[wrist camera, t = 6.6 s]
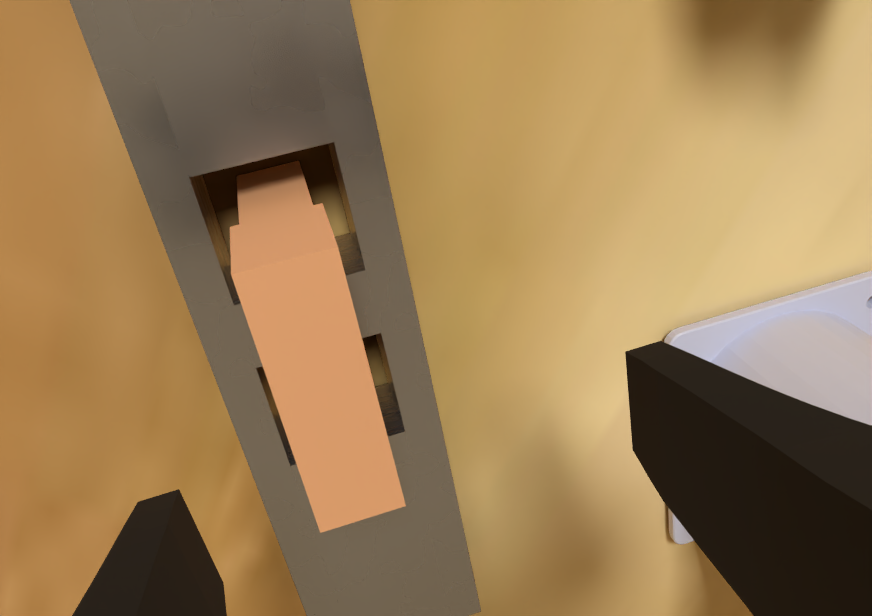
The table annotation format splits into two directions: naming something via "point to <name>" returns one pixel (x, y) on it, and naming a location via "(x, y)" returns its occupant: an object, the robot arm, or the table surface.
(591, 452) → the table surface
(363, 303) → the rail
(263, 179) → the clip
